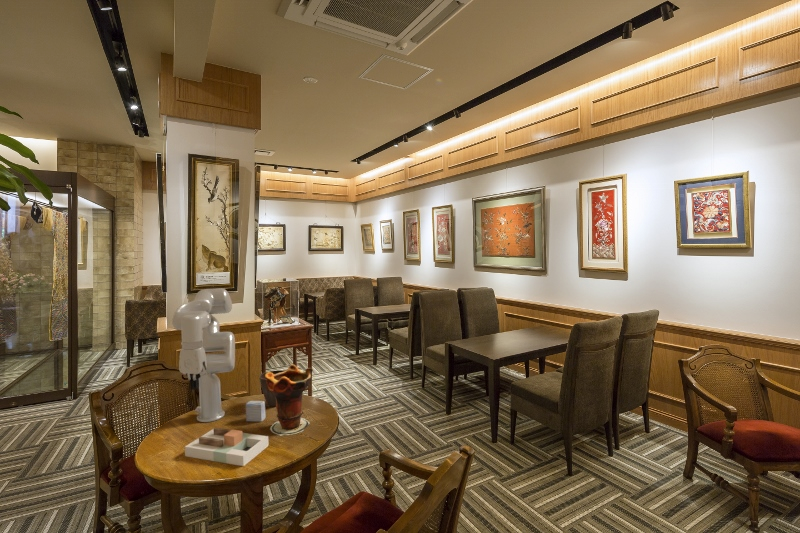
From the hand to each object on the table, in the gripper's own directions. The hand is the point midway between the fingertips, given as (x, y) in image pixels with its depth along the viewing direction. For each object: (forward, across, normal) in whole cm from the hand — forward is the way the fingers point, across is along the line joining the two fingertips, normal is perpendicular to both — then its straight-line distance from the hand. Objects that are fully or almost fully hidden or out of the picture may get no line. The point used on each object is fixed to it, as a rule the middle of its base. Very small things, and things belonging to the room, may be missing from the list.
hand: (194, 388), depth 162 cm
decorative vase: (+27, +27, +27) cm, 47 cm away
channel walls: (+22, +9, +2) cm, 24 cm away
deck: (+26, +13, +2) cm, 29 cm away
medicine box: (+27, +7, +30) cm, 41 cm away
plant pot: (+28, +6, +49) cm, 57 cm away
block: (+22, +16, +2) cm, 28 cm away
